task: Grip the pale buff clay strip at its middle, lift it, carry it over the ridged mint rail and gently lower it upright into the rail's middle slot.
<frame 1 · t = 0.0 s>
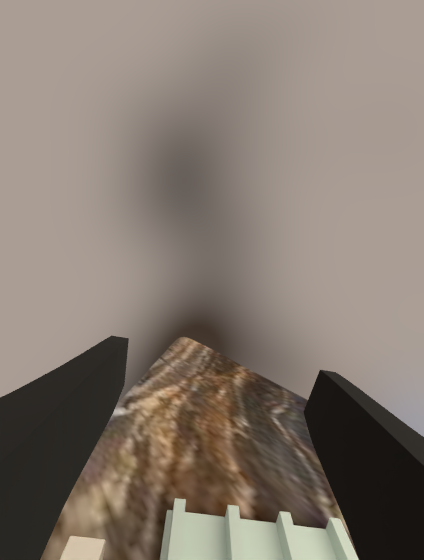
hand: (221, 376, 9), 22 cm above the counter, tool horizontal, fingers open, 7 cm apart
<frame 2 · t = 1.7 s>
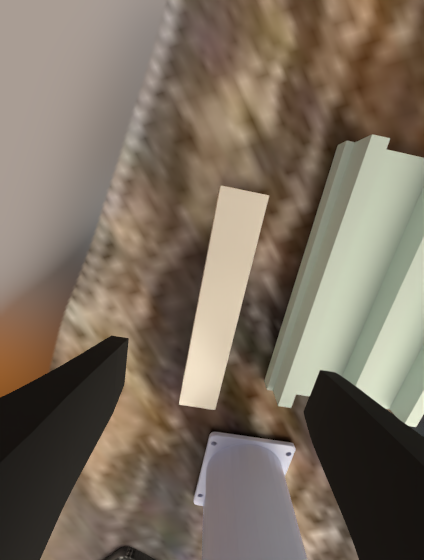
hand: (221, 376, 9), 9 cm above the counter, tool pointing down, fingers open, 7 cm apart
ridged mint rail: (403, 301, 17), on the counter
clay strip: (216, 291, 17), on the counter
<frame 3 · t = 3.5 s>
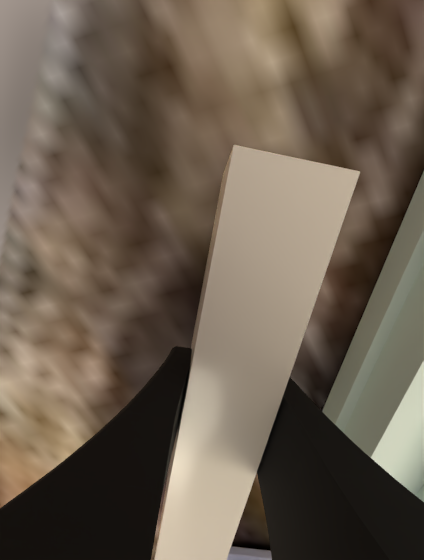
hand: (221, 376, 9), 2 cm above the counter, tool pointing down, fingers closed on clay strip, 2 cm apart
clay strip: (219, 349, 10), on the counter, touching gripper
when the fingers open (3 cm above the counter, at t = 7.6 s): clay strip stays where it is, resting on ridged mint rail.
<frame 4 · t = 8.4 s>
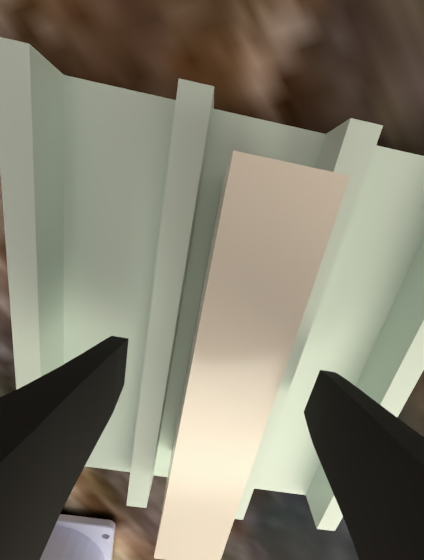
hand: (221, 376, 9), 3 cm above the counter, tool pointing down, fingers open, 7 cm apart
ridged mint rail: (218, 333, 12), on the counter
clay strip: (219, 345, 11), point 1 cm above the counter, touching ridged mint rail
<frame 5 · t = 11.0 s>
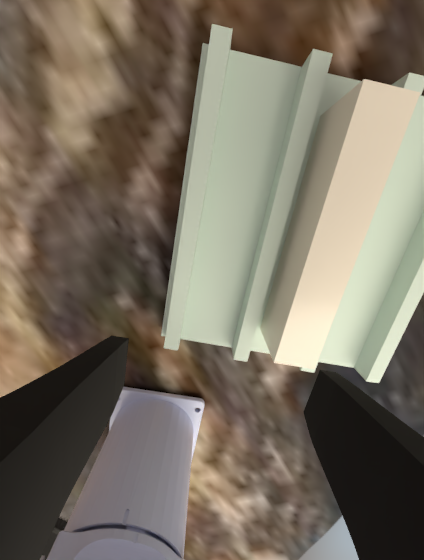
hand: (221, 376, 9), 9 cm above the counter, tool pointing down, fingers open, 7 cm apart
ridged mint rail: (298, 237, 16), on the counter
clay strip: (304, 239, 15), point 1 cm above the counter, touching ridged mint rail
phone: (86, 549, 28), on the counter
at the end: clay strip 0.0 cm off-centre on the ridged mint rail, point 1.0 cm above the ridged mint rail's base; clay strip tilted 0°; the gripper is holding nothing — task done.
